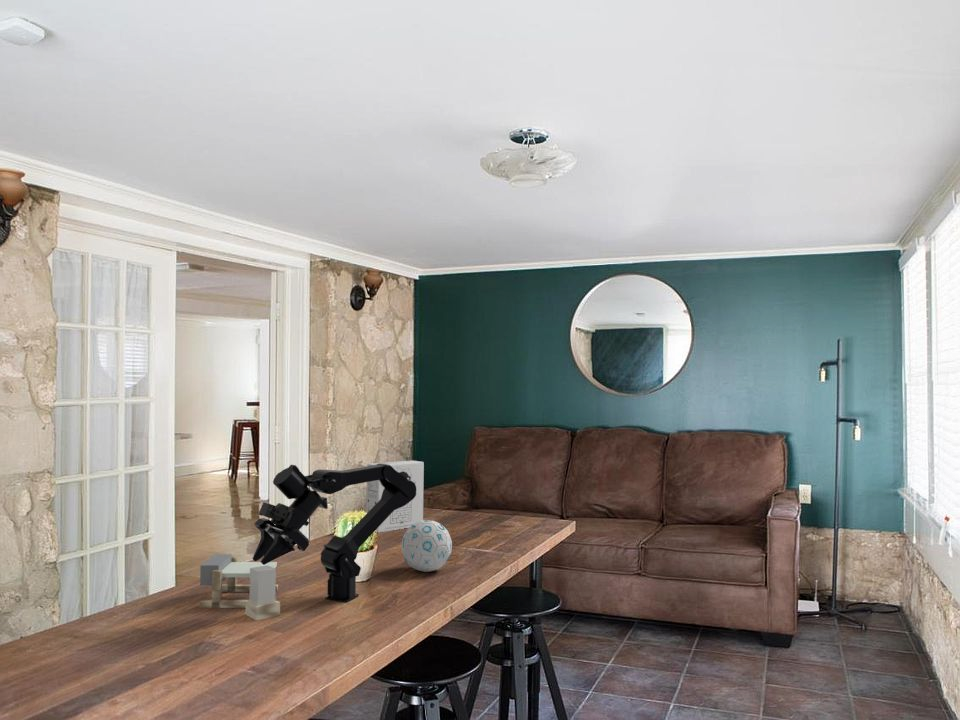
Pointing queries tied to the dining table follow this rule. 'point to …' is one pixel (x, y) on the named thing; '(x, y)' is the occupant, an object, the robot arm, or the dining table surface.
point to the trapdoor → (227, 568)
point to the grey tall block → (262, 585)
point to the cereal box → (410, 511)
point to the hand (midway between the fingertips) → (257, 561)
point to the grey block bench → (219, 588)
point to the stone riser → (262, 610)
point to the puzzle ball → (426, 545)
